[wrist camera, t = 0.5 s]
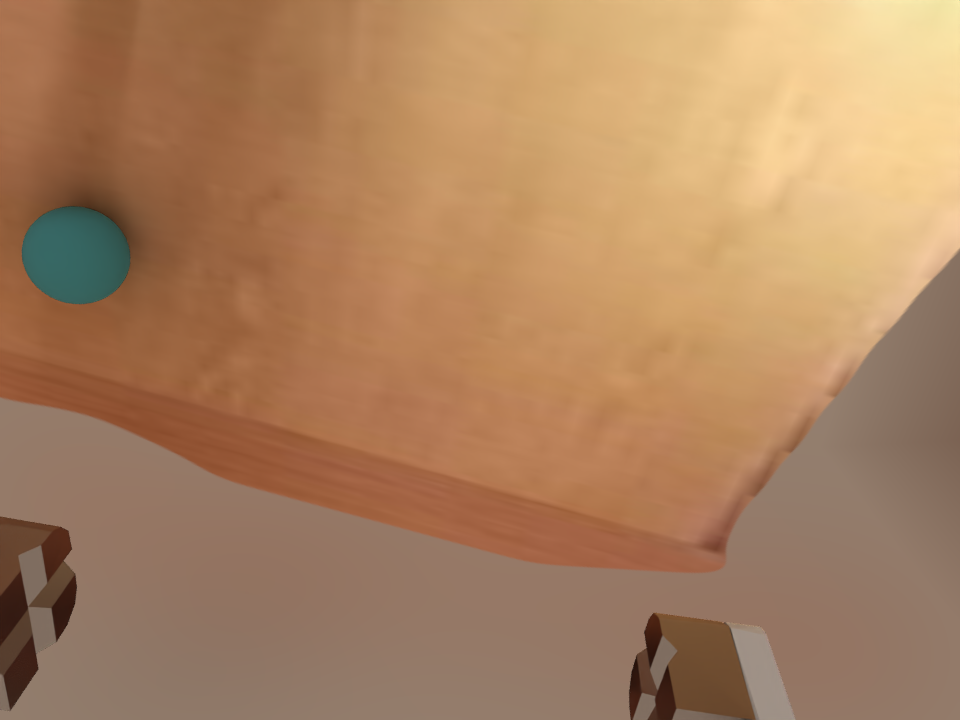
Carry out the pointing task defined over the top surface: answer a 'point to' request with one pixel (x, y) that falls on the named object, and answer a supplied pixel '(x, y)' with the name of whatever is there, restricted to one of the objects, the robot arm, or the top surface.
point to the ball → (76, 255)
